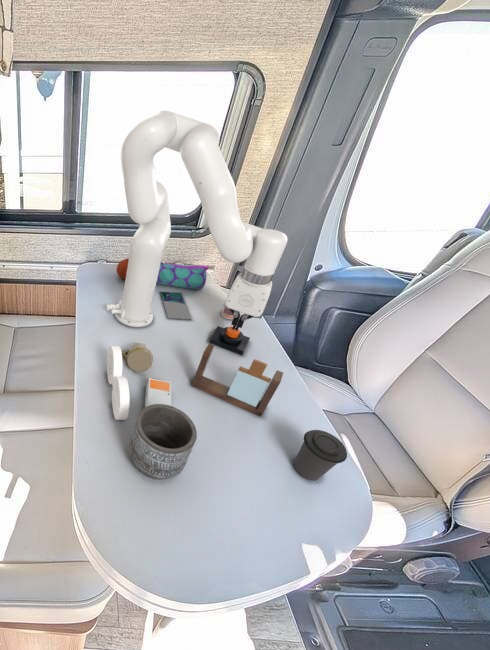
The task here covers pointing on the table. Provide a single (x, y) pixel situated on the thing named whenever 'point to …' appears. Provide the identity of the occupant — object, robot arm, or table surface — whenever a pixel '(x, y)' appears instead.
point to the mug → (139, 357)
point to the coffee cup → (318, 454)
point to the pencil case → (182, 275)
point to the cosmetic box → (158, 392)
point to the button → (232, 332)
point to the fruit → (122, 268)
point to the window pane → (250, 383)
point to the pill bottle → (227, 313)
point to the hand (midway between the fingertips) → (235, 327)
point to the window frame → (222, 390)
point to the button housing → (229, 341)
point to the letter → (118, 384)
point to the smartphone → (175, 305)
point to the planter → (162, 441)
